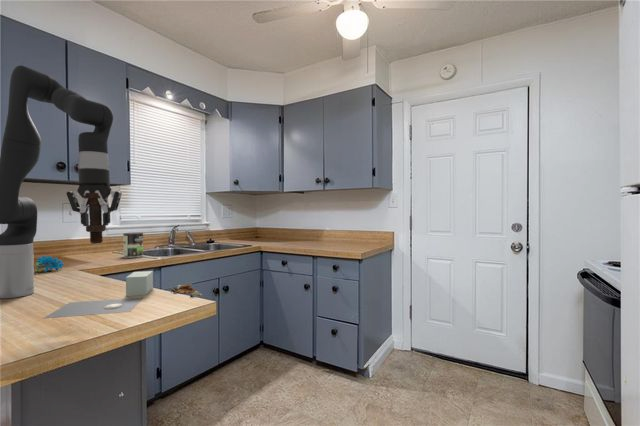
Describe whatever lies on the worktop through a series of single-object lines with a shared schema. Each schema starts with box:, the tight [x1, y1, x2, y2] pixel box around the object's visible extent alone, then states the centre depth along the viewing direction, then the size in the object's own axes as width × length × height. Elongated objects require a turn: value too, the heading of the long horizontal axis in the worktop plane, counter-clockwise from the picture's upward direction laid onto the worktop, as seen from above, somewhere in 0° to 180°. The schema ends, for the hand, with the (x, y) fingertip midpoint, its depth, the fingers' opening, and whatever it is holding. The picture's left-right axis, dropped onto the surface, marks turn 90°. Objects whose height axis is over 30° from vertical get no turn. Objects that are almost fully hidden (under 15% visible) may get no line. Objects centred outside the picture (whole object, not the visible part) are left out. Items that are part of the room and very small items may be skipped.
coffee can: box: [122, 232, 144, 259], centre depth 188 cm, size 10×10×14 cm
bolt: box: [83, 193, 107, 245], centre depth 94 cm, size 6×5×15 cm
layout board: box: [43, 297, 144, 319], centre depth 90 cm, size 20×14×1 cm
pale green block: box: [125, 270, 154, 297], centre depth 107 cm, size 6×9×7 cm, turn 16°
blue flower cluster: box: [34, 255, 65, 273], centre depth 145 cm, size 11×6×10 cm
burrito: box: [170, 283, 203, 298], centre depth 108 cm, size 7×12×4 cm, turn 76°
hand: (96, 225), depth 94 cm, fingers closed on bolt, 4 cm apart
